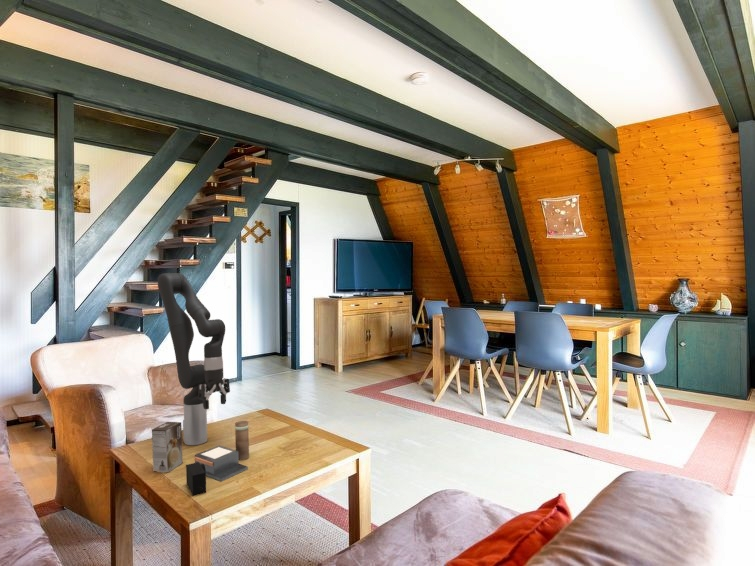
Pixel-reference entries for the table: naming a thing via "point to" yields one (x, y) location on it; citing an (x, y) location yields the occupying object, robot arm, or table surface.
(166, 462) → the coffee box
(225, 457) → the step stand
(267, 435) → the table surface
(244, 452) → the column
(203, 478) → the digital camera
